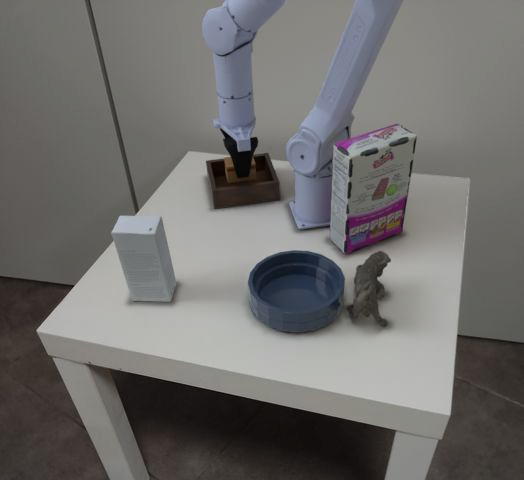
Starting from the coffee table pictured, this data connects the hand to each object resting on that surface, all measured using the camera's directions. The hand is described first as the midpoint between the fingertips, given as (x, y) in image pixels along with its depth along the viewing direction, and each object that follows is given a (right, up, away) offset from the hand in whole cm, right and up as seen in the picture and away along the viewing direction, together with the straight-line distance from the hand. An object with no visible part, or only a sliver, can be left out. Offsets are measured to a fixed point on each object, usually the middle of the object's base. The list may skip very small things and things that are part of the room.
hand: (241, 170), depth 96 cm
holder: (0, -2, +3) cm, 4 cm away
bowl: (+9, -25, -18) cm, 32 cm away
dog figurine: (+19, -25, -19) cm, 37 cm away
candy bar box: (+20, -14, -8) cm, 26 cm away
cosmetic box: (-12, -23, -15) cm, 30 cm away
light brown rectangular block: (0, -1, +1) cm, 1 cm away
